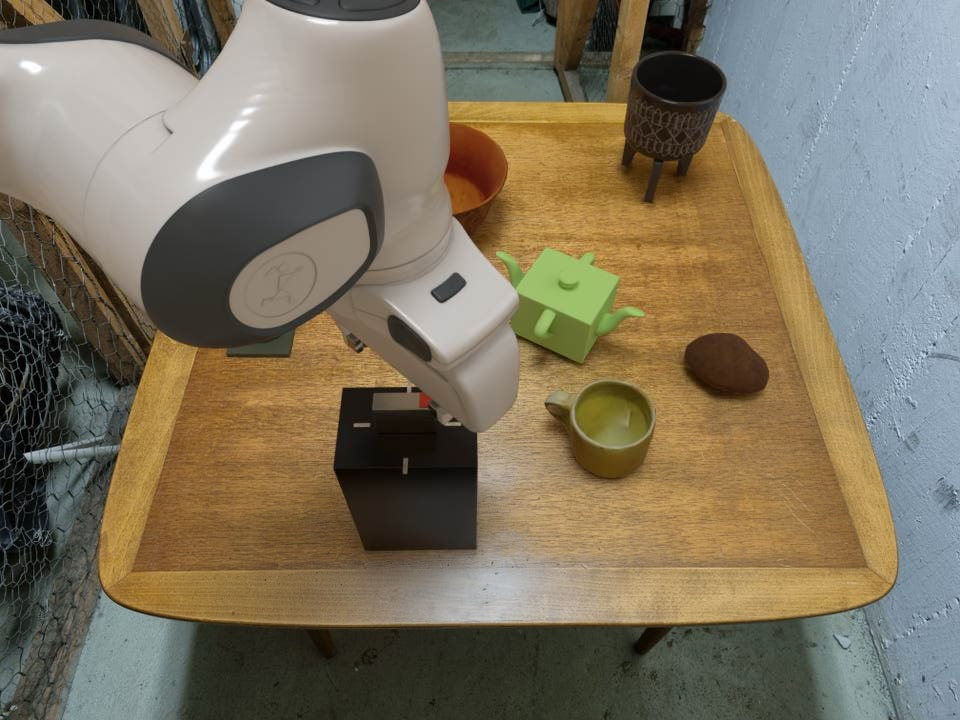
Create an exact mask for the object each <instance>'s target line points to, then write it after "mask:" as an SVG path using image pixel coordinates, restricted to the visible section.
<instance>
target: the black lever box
mask: <svg viewBox="0 0 960 720" xmlns="http://www.w3.org/2000/svg"><path fill="white" fill-rule="evenodd" d="M412 385H413V383H412V382H410V381H409V380H408V379H407V385H406V386H360V387H359V386H358V387H357V386H355V387H354V386H353V387H351V386H350V387H349V386H348V387H347V386H345V387H342V388H341V397H340V404H339V405H340V407H339V415H338V423H337V430H336V431H337V432H336V439H335V449H334V457H333V464H332V465H333V466H332V469H333V472H334V474H335V477H336V479H337V480H336V481H337V482H338V484H339V487H340V490H341V493H342V496H343V498H344V500H345V501H344V502H345V503H346V506H347V508H348V511H349V513H350V517H351V518H352V521H353V524H354V526H355V529H356V532H357V534H358V537H359V540H360V542H361V545H362V548H363V550H364V552H400V551H401V552H405V551H406V552H407V551H411V552H412V551H415V552H416V551H471V550H472V551H476V550H477V549H478V495H479V493H478V491H479V490H478V489H479V488H478V487H479V486H478V485H479V483H478V481H479V454H478V451H479V449H478V444H479V443H478V433H475V432H472V431H470V430H468V429H467V428H466V427H465V426H464V425H463V424H461V423H460V422H459V421H458V420H457V419H455V418H454V417H453V418H452V419H451V420H450V421H449V422H447V423H446V424H444V425H443V424H441V423H440V422H439V421H438V420H437V425H436V432H432V433H378V431H377V427H376V423H375V418H374V414H373V410H372V407H373V395H374V393H420V392H423V391H421V390H420V389H419V388H418V387H416V386H412Z"/></svg>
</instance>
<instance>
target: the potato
mask: <svg viewBox="0 0 960 720" xmlns="http://www.w3.org/2000/svg"><path fill="white" fill-rule="evenodd" d="M684 359H685V362H686V365H687V366H688V368H689V369H690V371H692V372H693V374H694V375H696V377H698V378H699V379H700V380H701V381H703V382H704V383H705V384H706V385H708V386H709V387H712V388H714V389H718V390H721V391H724V392H727V393H729V394H730V393H732V394H735V395H736V394H737V395H750V394H751V395H752V394H755V393H758V392H760V391H761V390H764V389H765V388H766V387H767V385H768V383H769V379H770V369H769V367H768V364H767V362H766V360H765V358H763V357H762V355H760V354H759V353H758V352H756V351H755V349H754V348H752V347H751V345H750V344H749V343H748V342H747V341H746V340H745V339H743V338H742V337H741V336H740V335H738V334H734V333H729V332H713V333H707V334H704V335H700V336H698V337H697V338H695V339H693V340H691V342H689V343H688V344H687V345H686V346H685V349H684Z"/></svg>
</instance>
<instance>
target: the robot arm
mask: <svg viewBox="0 0 960 720" xmlns="http://www.w3.org/2000/svg"><path fill="white" fill-rule="evenodd" d="M449 109H450V108H449V97H448V85H447V75H446V68H445V62H444V57H443V51H442V46H441V40H440V35H439V32H438V28H437V25H436V22H435V19H434V15H433V13H432V11H431V9H430V6H429V4H428V2H427V0H243V2H242V8H241V12H240V14H239V17H238V19H237V21H236V24H235V26H234V28H233V29H232V31H231V33H230V35H229V37H228V39H227V41H226V43H225V44H224V46H223V47H222V50H221V52H220V53H219V54H218V56H217V57H216V59H215V60H214V61H213V63H212V64H211V66H210V67H209V68H208V70H207V71H206V73H205V74H204V75H203V76H202V77H201V79H200V78H199V77H198V76H197V75H196V74H194V73H193V72H192V71H191V69H189V68H188V67H187V66H186V65H185V64H184V63H183V62H181V60H180V59H179V58H177V57H176V56H175V54H173V53H172V52H171V51H170V50H168V48H167V47H165V46H164V44H162V43H161V42H159V41H158V40H156V39H155V38H153V37H152V36H151V35H149V34H146V33H145V32H143V31H141V30H139V29H136V28H134V27H131V26H128V25H126V24H123V23H119V22H116V21H111V20H103V19H93V18H77V19H65V20H57V21H51V22H44V23H39V24H38V23H37V24H33V25H27V26H21V27H15V28H8V29H0V193H1V194H3V195H7V196H9V197H11V198H13V199H16V200H18V201H21V202H23V203H25V204H26V205H29V206H30V207H32V208H34V209H36V210H38V211H40V212H41V213H42V214H44V215H45V216H48V217H49V218H51V219H52V220H53V221H55V222H56V223H58V225H60V226H61V227H62V228H63V230H65V232H67V234H69V236H70V237H71V238H72V239H73V240H74V241H75V242H76V243H77V244H78V245H79V246H80V247H81V248H82V249H83V250H84V252H86V254H88V255H89V257H90V258H91V259H93V261H94V262H95V263H96V265H97V266H98V267H99V268H100V269H101V270H103V274H104V275H105V276H106V277H107V278H108V279H109V280H110V281H111V282H112V283H113V284H114V285H115V286H116V287H117V289H119V290H120V291H121V292H122V293H123V294H124V295H125V296H126V297H127V298H128V299H129V300H130V301H131V302H132V303H133V304H134V305H135V307H137V308H138V309H139V310H140V311H141V313H143V314H144V315H145V316H146V317H147V318H148V319H149V320H150V321H151V323H152V324H153V325H154V327H155V328H156V329H157V330H159V332H160V333H162V334H163V335H165V336H166V337H168V338H170V340H173V341H175V342H177V343H179V344H183V345H186V346H189V347H194V348H198V349H210V350H211V349H213V350H215V349H216V350H222V349H227V348H236V347H242V346H248V345H252V344H256V343H260V342H263V341H266V340H269V339H272V338H274V337H277V336H279V335H282V334H284V333H286V332H288V331H291V330H293V329H295V330H296V329H297V328H299V327H301V326H302V325H304V324H306V323H308V322H309V321H311V320H313V319H314V318H316V317H317V316H319V315H320V314H322V313H323V312H325V313H326V314H327V315H328V316H330V318H331V319H332V321H333V322H334V324H335V325H336V327H337V328H338V330H339V332H341V335H342V338H343V343H345V345H346V346H348V348H350V349H351V350H353V351H354V352H355V353H357V354H361V353H362V352H363V351H364V350H365V348H369V349H370V350H371V351H372V352H374V354H376V355H378V357H380V358H381V359H382V360H383V361H385V362H386V363H387V364H389V365H390V366H391V367H392V368H394V370H395V371H397V372H398V373H399V374H400V375H402V376H403V377H404V378H405V379H407V381H408V380H409V381H410V382H412V385H414V387H418V388H419V389H420V390H421V391H423V392H424V393H425V394H426V395H427V396H429V397H430V398H431V399H432V400H430V401H429V402H428V408H429V413H430V414H431V415H432V416H433V417H434V418H436V419H437V420H438V421H439V422H440V423H441V424H443V425H444V424H446V423H447V422H449V421H450V420H451V419H452V418H453V417H454V418H455V419H457V420H458V421H459V422H460V423H461V424H463V425H464V426H465V427H466V428H467V429H468V430H470V431H472V432H475V433H477V434H478V433H480V434H481V433H485V432H487V431H488V430H490V429H491V428H492V427H494V426H495V425H496V424H497V423H498V422H499V421H500V420H501V419H502V418H503V417H505V416H506V414H507V413H508V412H509V411H510V410H511V409H512V407H513V406H514V404H515V403H516V401H517V398H518V395H519V385H520V365H521V364H520V363H521V362H520V348H519V347H520V346H519V342H518V339H517V336H516V335H517V334H515V333H514V331H513V329H512V327H511V323H509V321H511V318H512V317H513V316H514V314H515V313H516V312H517V311H518V308H519V296H518V293H517V291H516V290H515V288H514V287H513V286H512V285H511V283H510V280H508V279H507V278H506V277H505V276H504V275H503V274H502V273H501V272H500V271H499V270H498V269H497V268H496V267H495V266H494V264H492V263H491V262H490V261H489V260H488V258H487V257H486V256H485V255H484V254H483V252H481V250H480V249H479V248H478V246H477V245H476V244H475V243H474V241H473V240H472V239H471V237H470V235H469V236H468V234H467V233H466V231H465V230H464V228H463V227H462V225H461V224H460V223H459V222H458V221H457V220H456V219H455V218H454V217H453V216H452V204H451V198H450V195H449V191H448V189H447V186H446V184H445V182H444V173H445V170H446V167H447V163H448V159H449V152H450V130H449V122H450V111H449Z"/></svg>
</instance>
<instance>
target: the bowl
mask: <svg viewBox="0 0 960 720" xmlns="http://www.w3.org/2000/svg"><path fill="white" fill-rule="evenodd" d="M449 130H450V152H449V159H448V163H447V167H446V170H445V173H444V182H445V184H446V186H447V189H448V191H449V195H450V198H451V204H452V216H453V217H454V218H455V219H456V220H457V221H458V222H459V223H460V224H461V225H462V227H463V228H464V230H465V231H466V233H467V234H468V236H469V237H470V235H472V234H474V233H475V232H476V231H478V229H479V228H480V227H482V225H483V224H484V222H485V220H486V218H487V217H488V214H489V211H490V208H491V204H492V202H493V200H494V199H495V198H496V197H497V196H498V195H499V194H500V193H501V191H502V190H503V188H504V186H505V184H506V181H507V178H508V174H509V173H508V172H509V162H508V159H507V157H506V155H505V152H504V150H503V149H502V147H501V146H500V145H499V144H498V143H497V142H496V141H495V140H494V139H493V138H491V137H490V136H489V135H488V134H486V132H485V133H484V132H483V131H482V130H479V129H476V128H474V127H472V126H469V125H466V124H462V123H458V122H453V121H449Z"/></svg>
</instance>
